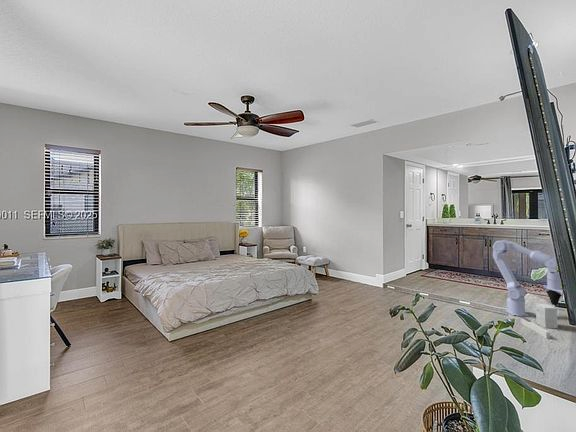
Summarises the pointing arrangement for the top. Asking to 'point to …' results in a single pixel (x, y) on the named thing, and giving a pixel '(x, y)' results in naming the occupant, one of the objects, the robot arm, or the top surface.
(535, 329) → the light grey long bar
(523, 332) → the top surface
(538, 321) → the small box
